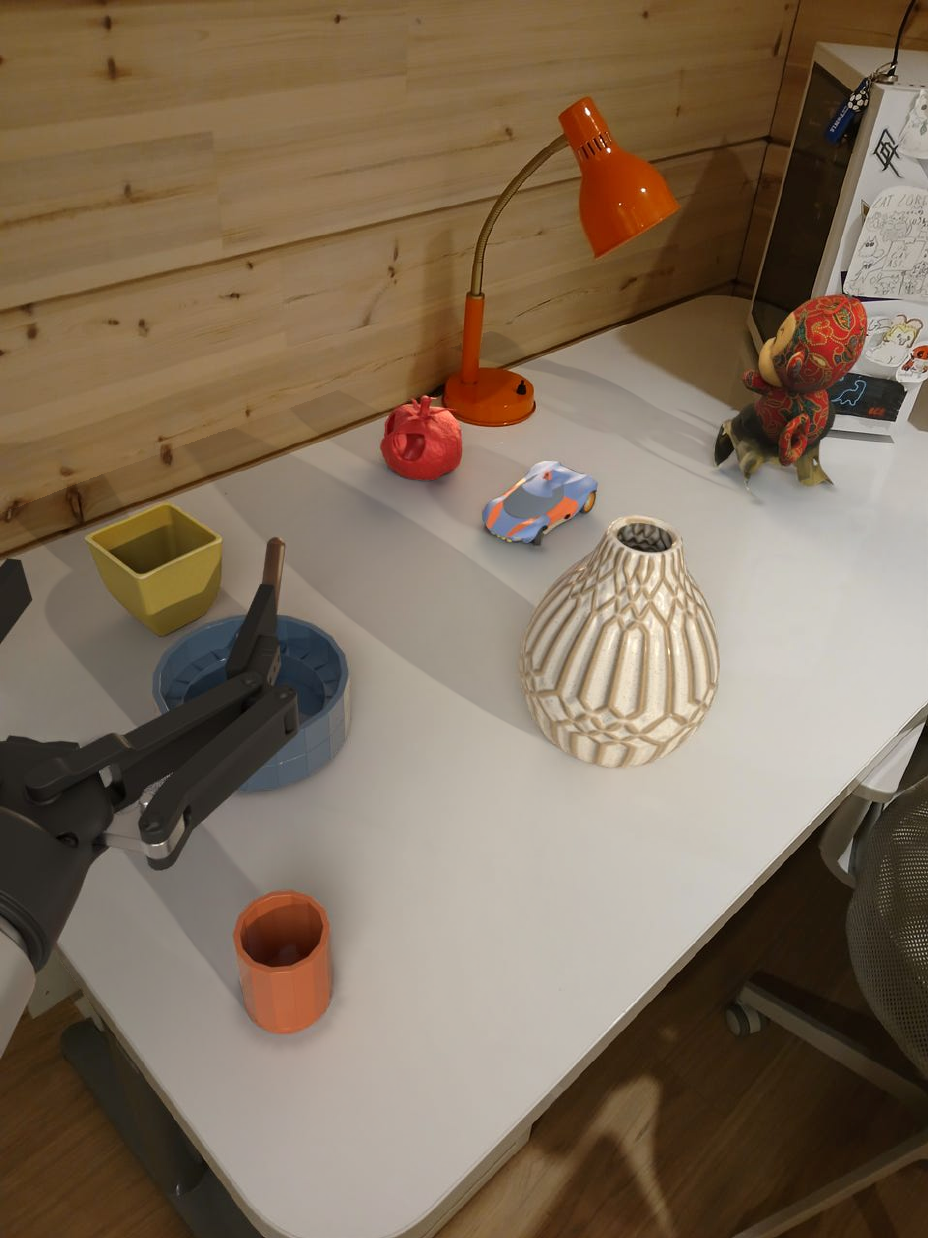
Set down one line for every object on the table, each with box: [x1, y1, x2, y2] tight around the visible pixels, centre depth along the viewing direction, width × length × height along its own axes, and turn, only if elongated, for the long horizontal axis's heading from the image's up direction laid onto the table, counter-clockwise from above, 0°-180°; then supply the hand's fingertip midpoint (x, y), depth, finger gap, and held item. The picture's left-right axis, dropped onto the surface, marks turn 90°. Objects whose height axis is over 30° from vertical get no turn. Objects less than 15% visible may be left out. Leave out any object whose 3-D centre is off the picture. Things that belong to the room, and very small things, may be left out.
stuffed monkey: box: [712, 293, 868, 498], centre depth 108 cm, size 15×17×25 cm
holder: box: [232, 889, 334, 1035], centre depth 60 cm, size 6×6×7 cm
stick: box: [261, 536, 287, 637], centre depth 81 cm, size 2×2×16 cm
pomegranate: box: [379, 394, 463, 481], centre depth 112 cm, size 10×10×9 cm
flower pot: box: [84, 500, 223, 637], centre depth 88 cm, size 9×9×9 cm
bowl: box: [151, 613, 351, 793], centre depth 78 cm, size 15×15×6 cm
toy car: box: [481, 459, 599, 546], centre depth 106 cm, size 8×15×5 cm, turn 142°
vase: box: [518, 514, 721, 769], centre depth 76 cm, size 16×16×20 cm
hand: (144, 591), depth 52 cm, fingers open, 13 cm apart
